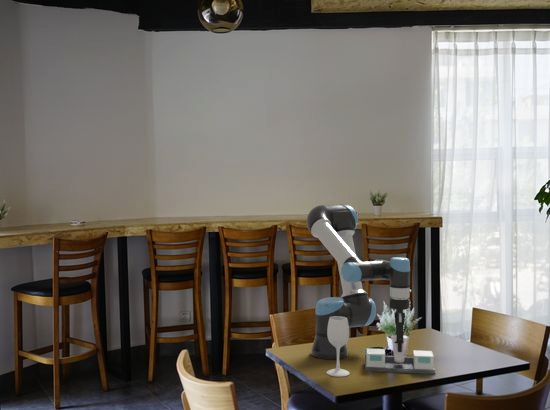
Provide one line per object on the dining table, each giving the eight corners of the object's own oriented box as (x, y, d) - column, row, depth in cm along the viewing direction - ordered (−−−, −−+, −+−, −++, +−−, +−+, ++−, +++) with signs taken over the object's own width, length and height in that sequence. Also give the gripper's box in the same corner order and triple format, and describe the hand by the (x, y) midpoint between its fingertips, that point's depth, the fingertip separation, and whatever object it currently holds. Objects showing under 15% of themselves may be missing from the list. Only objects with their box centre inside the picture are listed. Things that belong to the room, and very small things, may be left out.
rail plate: (365, 370, 242) (365, 361, 242) (365, 363, 252) (365, 354, 252) (435, 374, 238) (435, 364, 238) (432, 366, 248) (432, 357, 248)
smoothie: (387, 361, 245) (387, 325, 244) (397, 357, 249) (397, 322, 249) (401, 364, 240) (401, 327, 240) (411, 361, 245) (411, 325, 244)
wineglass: (353, 375, 236) (353, 319, 235) (331, 377, 233) (331, 320, 233) (344, 369, 244) (344, 315, 243) (323, 371, 241) (323, 316, 241)
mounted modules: (366, 366, 242) (366, 353, 242) (366, 360, 250) (366, 348, 250) (433, 369, 238) (433, 356, 238) (431, 363, 246) (431, 351, 246)
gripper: (411, 302, 234) (410, 364, 235) (408, 294, 253) (407, 351, 254) (390, 302, 235) (389, 364, 236) (389, 293, 254) (388, 350, 255)
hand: (399, 357), depth 245 cm, fingers closed on smoothie, 6 cm apart
